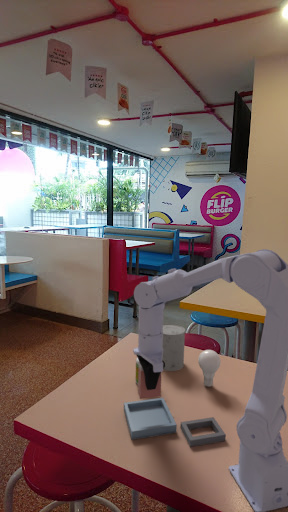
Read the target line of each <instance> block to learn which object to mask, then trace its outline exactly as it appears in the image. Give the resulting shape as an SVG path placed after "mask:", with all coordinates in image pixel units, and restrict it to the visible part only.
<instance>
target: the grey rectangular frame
mask: <svg viewBox="0 0 288 512" xmlns="http://www.w3.org/2000/svg"><path fill="white" fill-rule="evenodd" d="M208 427H211V428H212V430H213V431H214V432H213V433H205V434H201V435H195V436H194V435H193V434H192V432H191V430H195V429H196V430H197V429H202V428H208ZM179 428H180V430H181V432H182V434H183V436H184V438H185V440H186V442H187V444H188V446H189V447H197V446H204V445H208V444H214V443H220V442H225V441H226V433H225V431H224V430H223V428H222V427H221V425H220V424H219V423H218V422H217V420H216V418H215V417H213V416H212V417H206V418H198V419H191V420H186V421H181V422H180V427H179Z"/></svg>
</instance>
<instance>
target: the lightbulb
mask: <svg viewBox="0 0 288 512" xmlns="http://www.w3.org/2000/svg"><path fill="white" fill-rule="evenodd" d="M197 361H198V366H199V368H200V369H201V371H202V374H203V385H204V386H205V387H209V388H210V387H212V386H213V385H214V377H215V374H216V372H217V371H218V370H219V368H220V367H221V361H222V360H221V358H220V355H219V354H218V353H217V352H216V351H214V350H212V349H205V350H203V351H201V352H200V353H199V355H198V360H197Z"/></svg>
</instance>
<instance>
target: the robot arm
mask: <svg viewBox="0 0 288 512" xmlns="http://www.w3.org/2000/svg"><path fill="white" fill-rule="evenodd" d="M220 279H222V280H223V281H225V282H227V283H229V284H230V283H233V282H234V283H235V285H236V286H237V287H238V288H240V289H241V290H242V291H244V292H246V293H247V294H248V295H250V296H251V297H252V298H254V299H256V300H257V302H259V304H261V306H263V308H264V310H265V317H264V323H263V328H262V332H261V339H260V346H259V351H258V356H257V361H256V362H257V363H256V367H255V368H256V369H255V373H254V379H253V386H252V389H251V390H252V391H251V393H250V396H249V399H248V401H247V403H246V405H245V409H244V413H243V416H241V417H240V419H239V420H238V421H237V424H236V434H237V436H238V439H239V453H238V464H235V465H229V466H228V470H229V472H230V474H231V475H232V477H233V479H234V480H235V483H237V485H238V487H239V488H240V491H242V493H243V495H244V496H245V498H246V499H247V501H248V503H249V505H250V506H251V507H252V509H253V511H254V512H271V511H273V510H274V511H275V510H278V509H281V508H285V507H288V460H287V458H286V456H285V453H284V449H283V441H282V440H283V439H282V435H281V432H280V431H281V430H282V427H283V426H284V425H285V424H286V422H287V419H288V418H287V416H288V415H287V411H286V408H285V399H286V397H285V395H284V391H285V390H284V389H285V384H286V380H287V379H286V378H287V375H288V263H287V262H286V261H285V260H284V259H283V258H282V257H281V256H280V255H279V254H278V253H277V252H275V251H273V250H272V249H271V250H270V249H267V248H266V249H265V248H264V249H263V248H262V249H259V250H257V251H254V252H247V253H242V254H241V253H240V254H236V255H232V256H227V257H222V258H219V259H217V260H215V261H212V262H210V263H207V264H206V265H205V264H204V265H203V266H202V265H201V266H200V267H198V268H196V269H193V270H190V271H188V272H187V271H186V270H183V269H177V268H171V269H169V270H167V274H163V275H161V276H159V275H156V276H153V277H152V279H151V280H148V281H141V282H139V284H137V285H136V286H135V287H134V290H133V298H134V301H135V303H136V304H137V306H138V335H137V336H138V342H137V343H138V345H137V347H134V348H133V351H132V352H133V355H135V356H136V358H137V357H138V359H139V362H140V364H141V366H142V368H143V371H144V376H145V384H146V388H147V390H152V389H156V386H157V382H158V379H159V376H160V374H161V375H162V372H164V370H163V369H164V367H165V362H164V361H162V358H163V348H162V345H163V325H164V309H166V308H165V307H166V303H168V302H170V301H174V300H176V299H179V298H184V297H186V296H189V295H190V294H191V292H192V290H193V287H197V286H199V285H203V284H205V283H209V282H213V281H215V280H220Z"/></svg>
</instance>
